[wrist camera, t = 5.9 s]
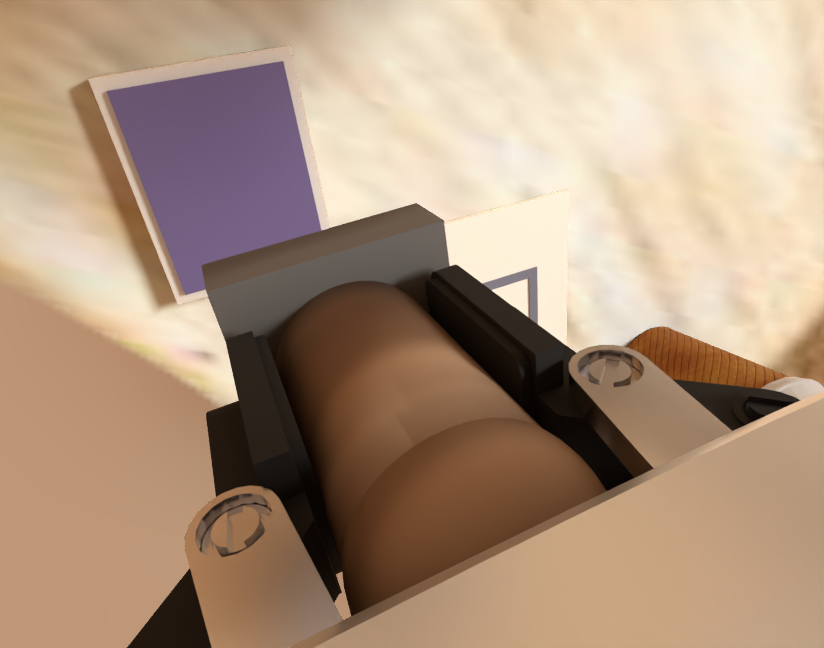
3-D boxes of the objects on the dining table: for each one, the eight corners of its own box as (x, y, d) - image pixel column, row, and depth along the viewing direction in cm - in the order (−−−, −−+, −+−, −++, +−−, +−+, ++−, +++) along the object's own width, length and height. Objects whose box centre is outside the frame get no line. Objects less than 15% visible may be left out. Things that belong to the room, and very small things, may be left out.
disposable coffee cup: (590, 424, 44) (712, 534, 34) (607, 320, 40) (754, 414, 30) (679, 395, 47) (816, 490, 37) (705, 297, 43) (868, 374, 33)
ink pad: (91, 77, 22) (87, 79, 21) (285, 45, 24) (292, 46, 23) (177, 295, 27) (177, 307, 26) (331, 253, 29) (338, 262, 28)
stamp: (200, 264, 11) (278, 681, 4) (416, 203, 13) (779, 429, 5) (268, 439, 14) (392, 892, 7) (442, 373, 15) (711, 688, 8)
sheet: (348, 248, 29) (351, 250, 29) (566, 188, 33) (570, 190, 33) (396, 482, 38) (398, 485, 38) (562, 414, 42) (565, 417, 42)
